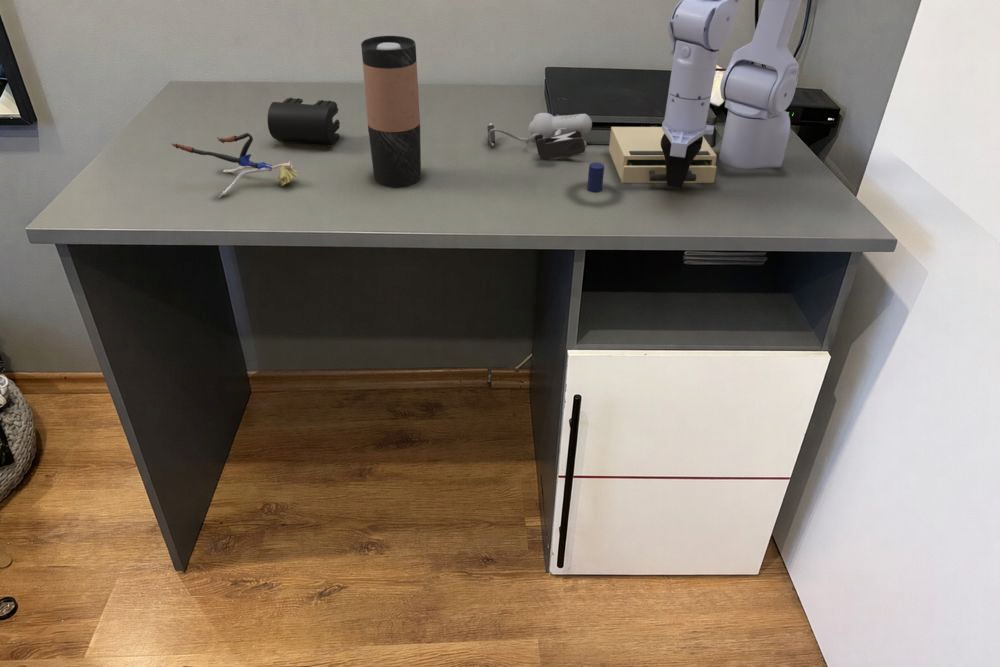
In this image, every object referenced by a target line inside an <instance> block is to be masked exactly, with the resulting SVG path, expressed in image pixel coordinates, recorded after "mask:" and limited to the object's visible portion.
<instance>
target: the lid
mask: <svg viewBox="0 0 1000 667" xmlns="http://www.w3.org/2000/svg"><path fill="white" fill-rule="evenodd" d="M587 174H588V175H587V184H586V190H587V191H588V192H589V193H590V192H591V193H600V192H602V191H603V184H604V174H605V164H604V163H601V162H591V163H589V165H588V173H587Z"/></svg>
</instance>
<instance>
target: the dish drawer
mask: <svg viewBox="0 0 1000 667" xmlns="http://www.w3.org/2000/svg"><path fill="white" fill-rule="evenodd" d="M663 134H665V133H664V131H663V130H662V126H611V127H610V135H609V144H608V152H609V154H610V157H611V160H612V162H613V164H614V167H615V169H616V172H617V174H618V177H619V180H620V181H622V173H623V166H627V160H665V157H664V153H663V151H662V148H661V139H662V137H663ZM702 137H703V142H702V146H701V149H700V151H699V152H698V154H697V155H696V156H695V158H694V159H693V160H706V162H707V163H708V166H716V162H717V158H718V156H717V154H716V153H715V151H714V149H713V148H712V147H711V145H710V144H709V142H708V141H707V139H706V138H705V136H704V135H703V136H702Z"/></svg>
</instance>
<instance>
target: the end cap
mask: <svg viewBox="0 0 1000 667" xmlns="http://www.w3.org/2000/svg"><path fill="white" fill-rule="evenodd" d="M303 102H304V100H303V98H299V97H297V98H295V97H294V98H293V97H287V98H285V99H284V100H283V101H272V103H271V104H270V105H269V108H268V111H267V127H268V132H269V134H270V136H271V137H272V138H273V139H274V140H276V141H278V142H279V143H285V144H286V143H287V144H298V145H300V144H301V145H312V146H324V147H333V146H334V145H335V144H336V143H337V142H338V140H340V133H339V132H337V131H339V129H340V124H341V122H340V120H339V119H335V121H333V120H334V119H333V118H334V117H335V116H336V115H337V114H338V113H339V108H338V104H337V102H335V101H334V100H333V101H332V100H330V99H329V100H323V99H321V100H317V101H316V103H314V104H307V103H303Z"/></svg>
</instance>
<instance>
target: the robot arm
mask: <svg viewBox="0 0 1000 667" xmlns="http://www.w3.org/2000/svg"><path fill="white" fill-rule="evenodd" d="M741 1H742V0H680V1H679V2H677V4H676V6H675V7H674V9H673V11H672V14H671V16H670V20H668V27H667V28H668V36H669V37H670V52H671V53H670V54H671V55H672V56H673V59H672V66H671V73H670V78H669V86H668V94H667V100H666V105H665V106H666V107H665V112H664V120H663V121H662V123H661V127H662V130H663V131H664V133H665V134H663V137H662V139H661V148H662V151H663V153H664V157H665V162H666V180H667V183H666V186H667V187H671V188H678V189H679V188H680V189H681V188H682V187H683V186H684V184H685V183H684V181H685V178H686V175H687V172H688V170H689V167H690V165H691V163H692V161H693V159H694V158H695V156H696V155H697V154H698V152H699V151H700V149H701V146H702V142H703V137H704V135H709V136H710V135H713V134H714V129H715V126H714V125H712V124H707V121H708V115H709V109H710V104H711V98H712V94H713V93H712V92H713V88H714V82H715V78H716V70H717V65H718V60H719V54H720V49H721V48H723V46H725V44H726V43H727V42H728V40H729V39H730V37H731V36H732V32H733V30H734V25H735V21H736V19H737V16H738V15H739V14H738V13H739V11H740V10H739V9H740V8H739V7H738V6H739V4H740V3H741ZM802 1H803V0H764V1H763V4H762V8H761V11H760V13H759V17H758V20H757V23H756V27H755V30H754V34H753V37H752V40H751V41H750V42H749V43H747V44H745V45H743V46H742V47H739V48H738V49H736V50H735V51H734V52H733V53H732V56H731V59H730V61H729V64H728V66H727V68H726V69H725V71H724V73H723V74H722V77H721V80H720V86H719V91H720V96H721V98H722V100H723V101H724V102H725V103H724V108H726V109H727V114H726V115H727V116H726V120H725V124H724V130H723V135H722V139H721V145H720V149H719V155H718V159H719V161H720V162H721V163H723V164H725V165H727V166H729V167H732V168H736V169H742V170H743V169H745V170H751V169H752V170H754V169H760V168H761V169H762V168H782V166H783V163H784V158H785V153H786V151H787V146H788V142H789V138H790V134H791V118H790V115H789V113H788V112H787V111H786V110H787V109H788V108H789V106H790V105H791V103H792V101H793V99H794V96H795V92H796V89H797V88H796V87H797V79H798V74H799V70H800V64H799V63H798V61H797V60H796V58H795V57H794V56H793V54H792V53H791V51H790V49H789V48H788V44H789V41H790V39H791V34H792V32H793V28H794V27H795V22H796V20H797V16H798V14H799V10H800V7H801V4H802ZM753 63H757V64H760V65H757V64H753ZM761 65H764V66H761ZM767 66H768V67H767ZM769 67H772V68H769ZM702 136H703V137H702Z"/></svg>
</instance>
